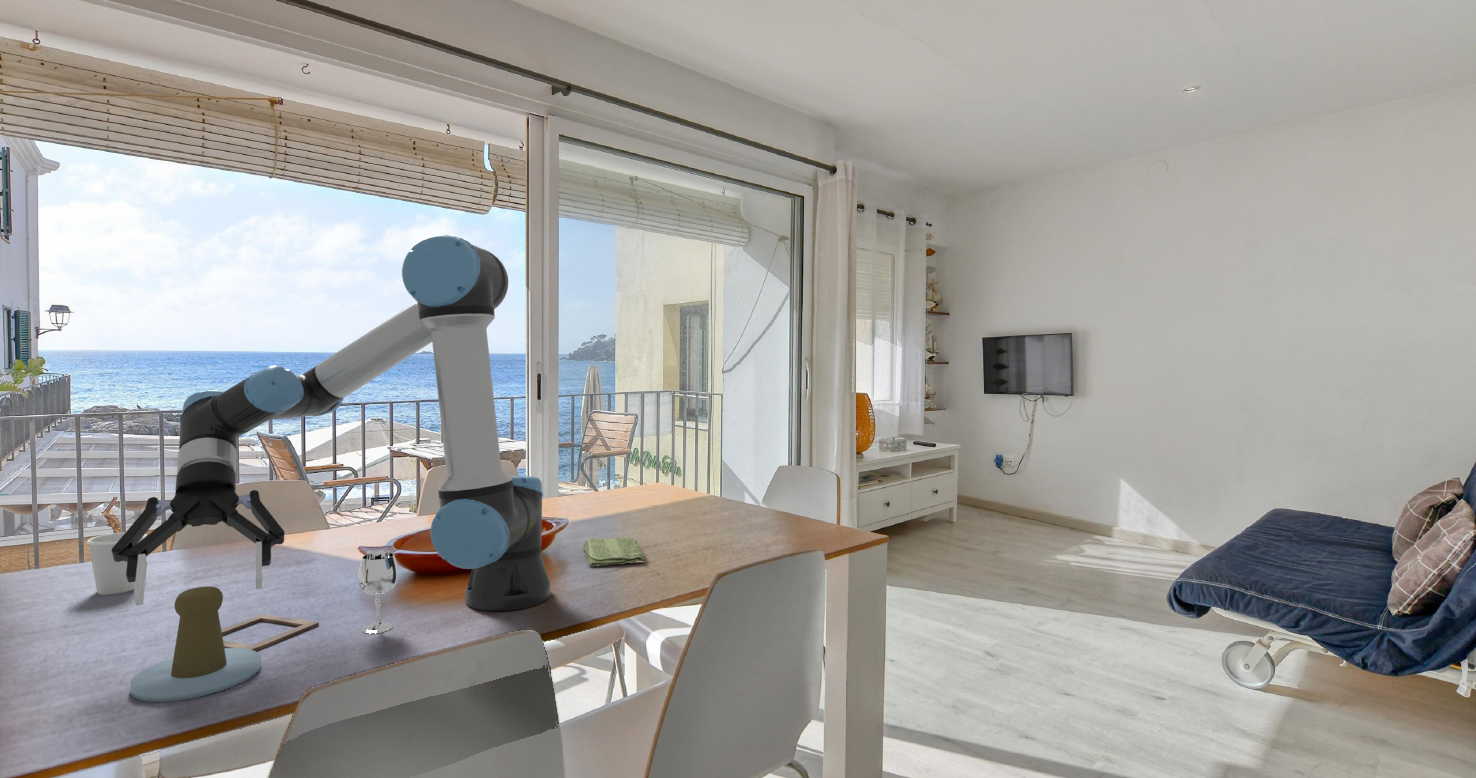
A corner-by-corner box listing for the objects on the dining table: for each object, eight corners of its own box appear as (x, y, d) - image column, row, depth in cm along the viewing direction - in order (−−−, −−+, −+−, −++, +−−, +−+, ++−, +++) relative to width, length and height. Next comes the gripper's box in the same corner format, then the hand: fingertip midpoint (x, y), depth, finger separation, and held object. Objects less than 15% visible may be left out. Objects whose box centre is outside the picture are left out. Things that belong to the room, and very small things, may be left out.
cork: (196, 680, 90) (195, 597, 90) (158, 675, 91) (158, 594, 91) (237, 661, 96) (237, 583, 96) (202, 657, 97) (202, 580, 97)
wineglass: (387, 619, 116) (388, 549, 116) (403, 627, 113) (404, 555, 113) (351, 628, 112) (352, 556, 112) (366, 638, 108) (367, 562, 108)
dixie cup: (156, 586, 131) (156, 534, 131) (101, 599, 123) (100, 544, 123) (132, 580, 134) (132, 529, 134) (77, 592, 127) (77, 538, 127)
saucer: (285, 663, 99) (285, 655, 99) (182, 709, 85) (182, 699, 85) (212, 650, 102) (212, 642, 102) (103, 692, 89) (103, 683, 89)
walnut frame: (319, 625, 113) (319, 622, 113) (249, 653, 102) (249, 650, 102) (263, 616, 117) (263, 613, 117) (189, 643, 105) (189, 639, 105)
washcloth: (588, 570, 149) (588, 555, 149) (581, 549, 166) (582, 536, 166) (647, 566, 153) (648, 552, 153) (636, 546, 170) (636, 533, 169)
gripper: (298, 481, 119) (302, 590, 108) (105, 494, 105) (86, 621, 93) (299, 454, 115) (304, 564, 103) (98, 463, 101) (77, 593, 89)
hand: (201, 591), depth 98 cm, fingers open, 13 cm apart
